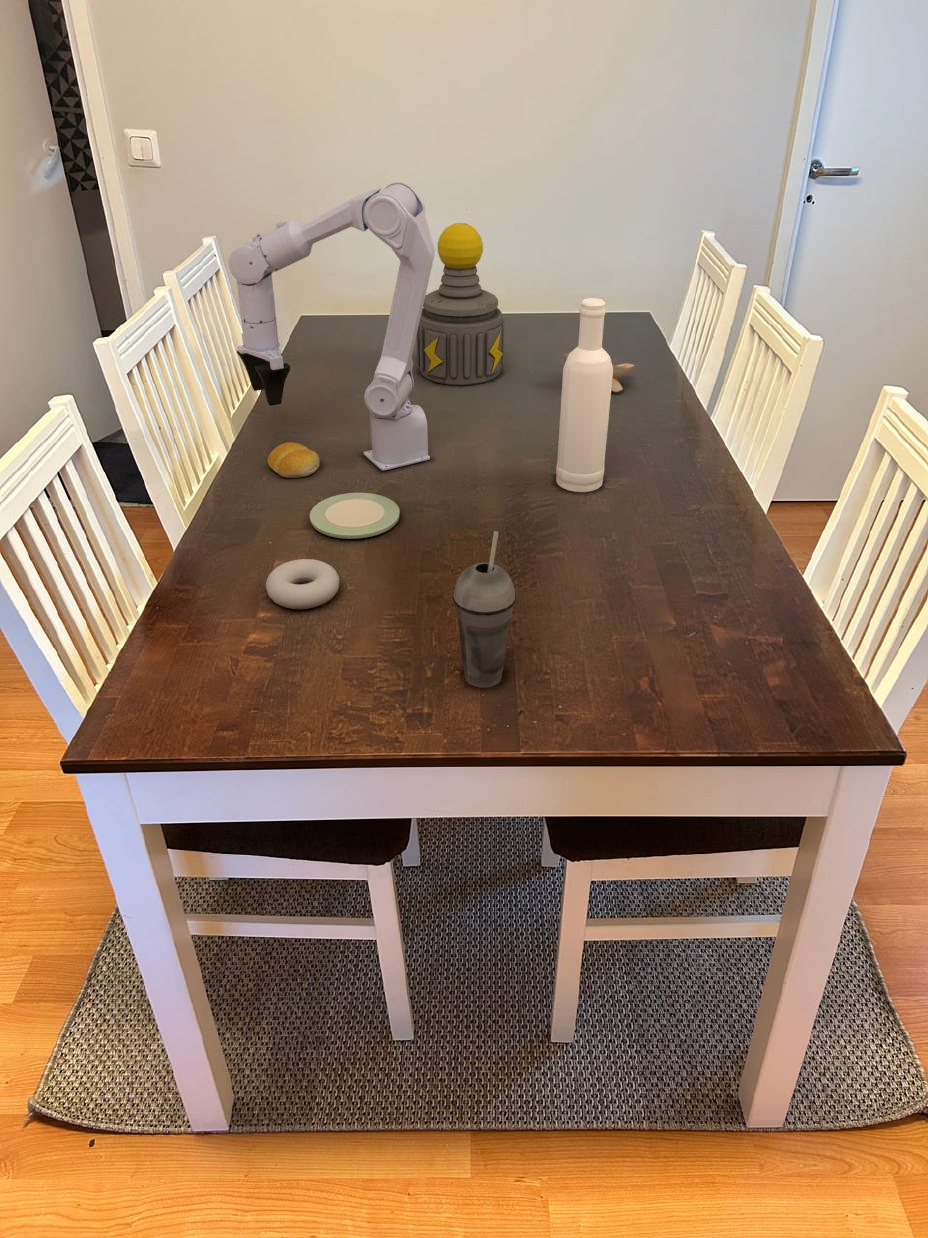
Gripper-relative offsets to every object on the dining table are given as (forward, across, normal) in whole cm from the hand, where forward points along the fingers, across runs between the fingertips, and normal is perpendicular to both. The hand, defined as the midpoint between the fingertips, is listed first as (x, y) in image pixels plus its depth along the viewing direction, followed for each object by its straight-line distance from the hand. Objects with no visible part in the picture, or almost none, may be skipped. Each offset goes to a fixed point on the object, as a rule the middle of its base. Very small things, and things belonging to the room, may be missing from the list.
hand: (267, 396), depth 162 cm
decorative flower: (+9, +5, +70) cm, 71 cm away
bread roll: (+10, +10, 0) cm, 14 cm away
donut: (+9, +48, -13) cm, 51 cm away
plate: (+9, +32, +2) cm, 33 cm away
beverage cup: (+9, +76, -1) cm, 77 cm away
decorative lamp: (+9, -17, +49) cm, 52 cm away
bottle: (+9, +39, +40) cm, 56 cm away
